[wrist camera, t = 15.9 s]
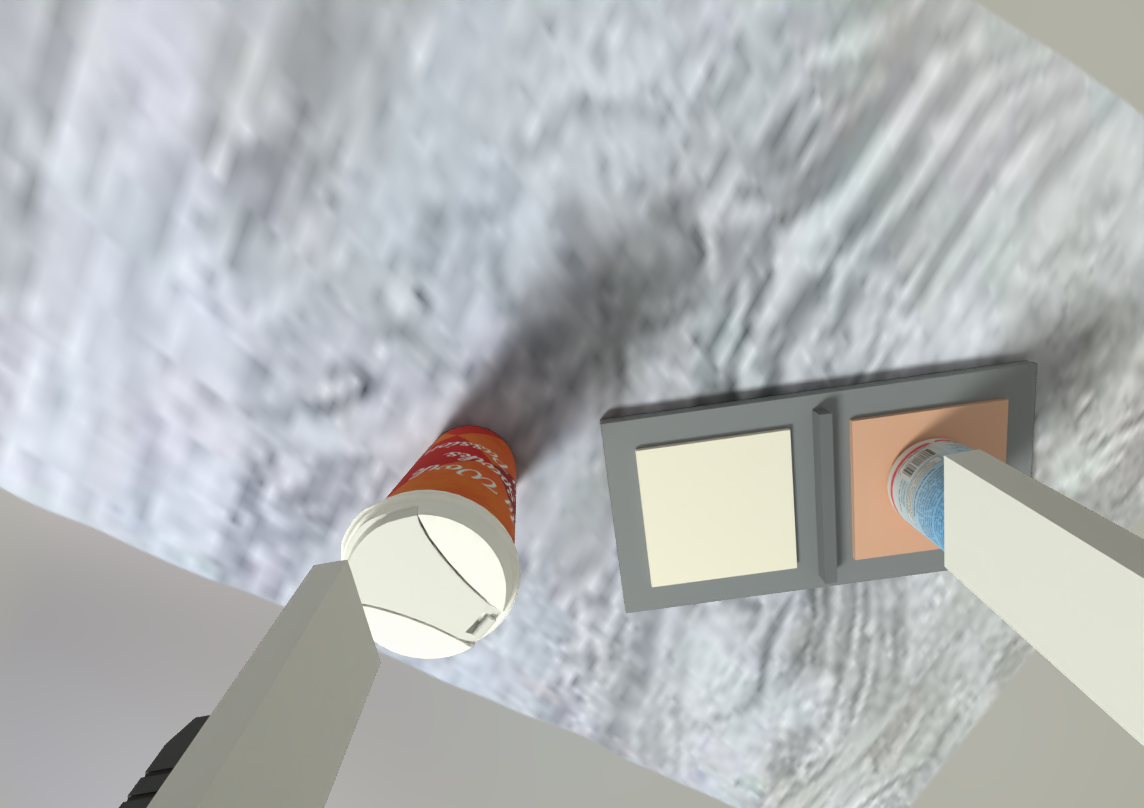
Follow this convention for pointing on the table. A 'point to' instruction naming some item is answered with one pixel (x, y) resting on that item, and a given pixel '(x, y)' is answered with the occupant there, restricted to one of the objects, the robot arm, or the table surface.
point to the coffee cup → (440, 548)
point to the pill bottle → (922, 485)
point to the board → (794, 483)
